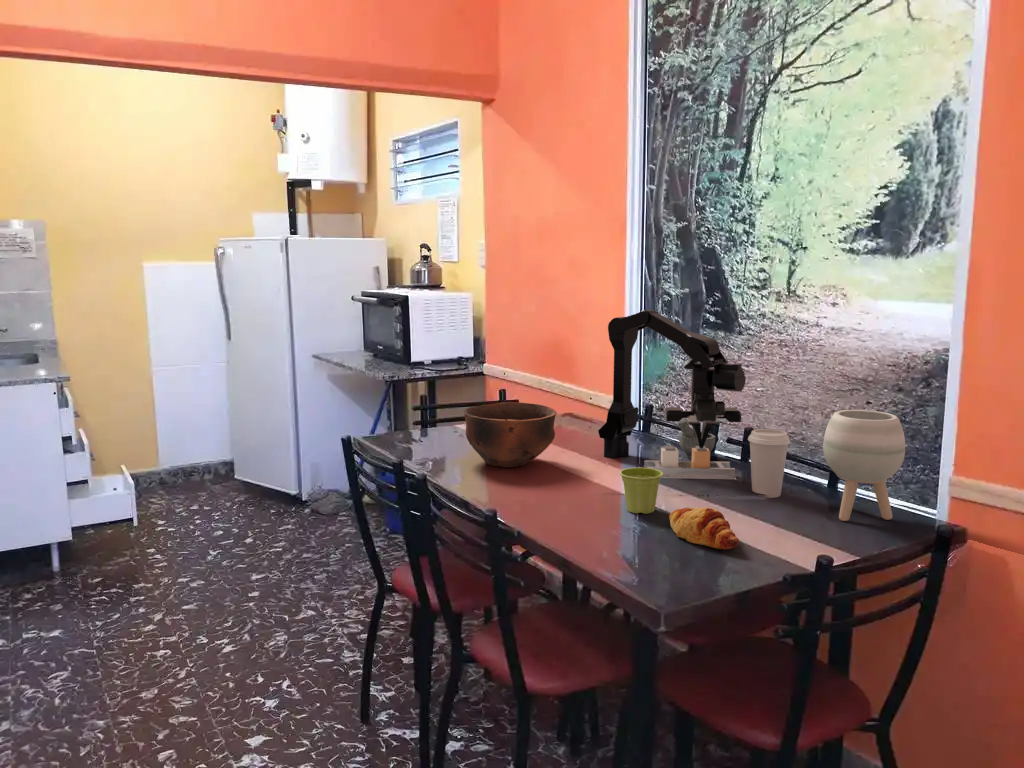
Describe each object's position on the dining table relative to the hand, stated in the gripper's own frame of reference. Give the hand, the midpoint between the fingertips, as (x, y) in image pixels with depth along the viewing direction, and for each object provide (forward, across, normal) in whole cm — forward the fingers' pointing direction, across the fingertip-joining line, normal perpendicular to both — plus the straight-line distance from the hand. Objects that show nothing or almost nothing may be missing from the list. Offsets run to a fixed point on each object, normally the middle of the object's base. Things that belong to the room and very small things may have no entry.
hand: (701, 447), depth 209 cm
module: (+7, 0, 0) cm, 7 cm away
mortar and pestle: (+8, +1, +17) cm, 19 cm away
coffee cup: (+8, +13, -16) cm, 22 cm away
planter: (+8, +29, -32) cm, 44 cm away
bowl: (+7, -50, +9) cm, 51 cm away
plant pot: (+8, -18, -31) cm, 37 cm away
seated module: (+6, -8, 0) cm, 10 cm away
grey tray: (+7, -3, 0) cm, 8 cm away
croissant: (+8, -7, -48) cm, 49 cm away
